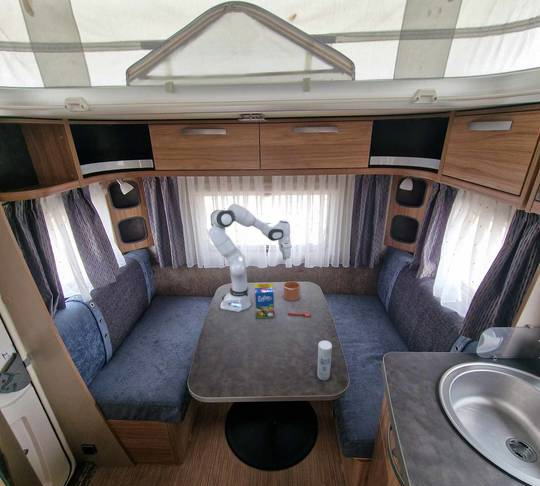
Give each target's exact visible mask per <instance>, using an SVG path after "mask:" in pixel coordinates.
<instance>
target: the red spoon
mask: <svg viewBox="0 0 540 486" xmlns="http://www.w3.org/2000/svg"><path fill="white" fill-rule="evenodd" d="M287 315H288V316H302V317H303V316H304V317H305V318H310V317H311V313H310V312H305V313H294V312H288V313H287Z"/></svg>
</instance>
